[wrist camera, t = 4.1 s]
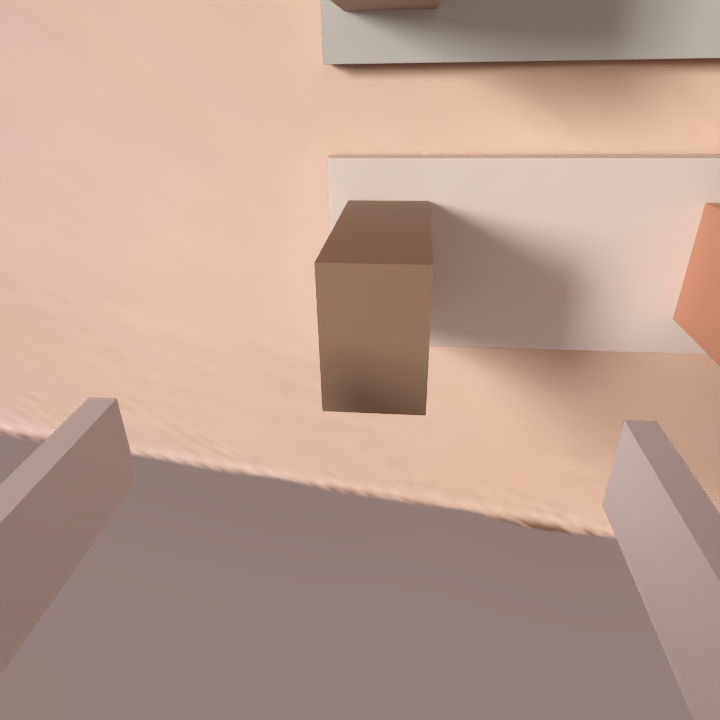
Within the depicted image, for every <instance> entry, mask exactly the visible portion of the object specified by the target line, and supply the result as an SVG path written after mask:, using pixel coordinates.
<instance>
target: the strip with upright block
mask: <svg viewBox="0 0 720 720" xmlns="http://www.w3.org/2000/svg"><path fill="white" fill-rule="evenodd" d="M321 25H322V50H323V64H384V63H446V62H509V61H571V60H633V59H696V58H720V0H321Z"/></svg>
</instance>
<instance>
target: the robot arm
mask: <svg viewBox="0 0 720 720" xmlns="http://www.w3.org/2000/svg"><path fill="white" fill-rule="evenodd" d="M136 480H137V475H136V471H135V467H134V463H133V459H132V456H131V452H130V448H129V444H128V440H127V437H126V433H125V429H124V425H123V421H122V417H121V414H120V410H119V406H118V402H117V399H115V398H91V397H89V398H88V399H87V400H86V401H85V402H84V403H83V404H82V405H81V406H80V407H79V408H78V409H77V410H76V411H75V412H74V413H73V414H72V415H71V416H70V417H69V418H68V419H67V420H66V421H65V422H64V423H63V424H62V425H61V426H60V427H59V428H58V429H57V430H56V431H55V432H54V433H53V434H52V435H51V436H50V437H49V438H48V439H47V440H46V441H45V442H44V443H42V445H40V446H39V448H37V449H36V450H35V451H34V453H32V454H31V455H30V456H29V457H28V458H27V459H26V460H25V461H24V462H23V463H22V464H21V465H20V466H19V467H18V468H17V469H16V470H15V471H14V472H13V473H12V474H11V475H10V476H9V477H8V478H7V479H6V480H5V481H4V482H3V483H2V484H1V485H0V675H1V674H2V672H3V671H4V669H5V668H6V667H7V665H8V664H9V662H10V661H11V659H12V658H13V657H14V655H15V654H16V652H17V651H18V649H19V648H20V647H21V645H22V644H23V642H24V641H25V639H26V638H27V637H28V635H29V634H30V632H31V631H32V629H33V628H34V627H35V625H36V624H37V622H38V621H39V619H40V618H41V616H42V615H43V614H44V612H45V611H46V609H47V608H48V606H49V605H50V603H51V602H52V600H53V599H54V598H55V596H56V595H57V594H58V592H59V590H60V589H61V588H62V586H63V585H64V583H65V582H66V581H67V579H68V578H69V576H70V575H71V573H72V572H73V570H74V569H75V568H76V566H77V565H78V563H79V562H80V561H81V559H82V558H83V556H84V555H85V553H86V552H87V551H88V549H89V548H90V546H91V545H92V543H93V542H94V541H95V539H96V537H97V536H98V535H99V533H100V532H101V530H102V529H103V528H104V526H105V525H106V523H107V522H108V520H109V519H110V517H111V516H112V515H113V513H114V512H115V510H116V509H117V508H118V506H119V505H120V503H121V502H122V500H123V499H124V497H125V496H126V495H127V493H128V492H129V490H130V489H131V487H132V486H133V485H134V483H135V482H136ZM603 507H604V510H605V512H606V515H607V517H608V519H609V522H610V524H611V526H612V529H613V531H614V533H615V536H616V538H617V541H618V543H619V545H620V548H621V550H622V552H623V555H624V557H625V559H626V562H627V564H628V566H629V569H630V571H631V574H632V576H633V578H634V581H635V583H636V585H637V588H638V590H639V593H640V595H641V597H642V600H643V602H644V604H645V607H646V609H647V611H648V614H649V616H650V619H651V621H652V623H653V626H654V628H655V630H656V633H657V635H658V637H659V640H660V642H661V645H662V647H663V649H664V652H665V654H666V656H667V659H668V661H669V663H670V666H671V668H672V671H673V673H674V675H675V678H676V680H677V682H678V685H679V687H680V689H681V692H682V694H683V697H684V699H685V701H686V704H687V706H688V708H689V711H690V713H691V715H692V718H693V720H720V513H719V512H718V511H717V509H716V508H715V506H714V505H713V503H712V502H711V500H710V499H709V497H708V496H707V494H706V493H705V491H704V490H703V489H702V487H701V486H700V484H699V483H698V481H697V480H696V478H695V477H694V475H693V474H692V472H691V471H690V469H689V468H688V467H687V465H686V464H685V462H684V461H683V459H682V458H681V456H680V455H679V453H678V452H677V450H676V449H675V447H674V446H673V444H672V443H671V442H670V440H669V439H668V437H667V436H666V434H665V433H664V431H663V430H662V428H661V427H660V425H659V424H658V422H657V421H638V420H624V423H623V427H622V431H621V434H620V438H619V442H618V446H617V450H616V454H615V458H614V462H613V466H612V470H611V473H610V477H609V481H608V485H607V489H606V493H605V497H604V501H603Z"/></svg>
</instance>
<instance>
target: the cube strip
mask: <svg viewBox="0 0 720 720" xmlns="http://www.w3.org/2000/svg"><path fill="white" fill-rule="evenodd" d="M327 176H328V201H329V226H330V235H329V237H328V239H327V241H326V243H325V244H324V246H323V248H322V250H321V252H320V254H319V256H318V257H317V259H316V261H315V279H316V298H317V316H318V334H319V353H320V371H321V389H322V408H323V411H335V412H359V413H382V414H406V415H426V397H427V378H428V359H429V346H453V347H486V348H518V349H551V350H584V351H616V352H649V353H681V354H708V353H707V352H705V351H704V350H703V349H702V348H701V347H700V346H699V345H698V344H697V343H696V342H695V341H694V340H693V339H692V338H691V337H690V336H689V335H688V334H687V333H686V332H685V331H684V330H683V329H682V328H681V327H680V326H679V325H678V324H677V323H676V322H675V321H674V320H673V316H674V312H675V309H676V305H677V302H678V298H679V295H680V291H681V288H682V284H683V281H684V277H685V273H686V270H687V266H688V263H689V259H690V256H691V252H692V249H693V245H694V242H695V238H696V234H697V231H698V227H699V224H700V220H701V217H702V213H703V210H704V206H705V203H720V154H532V155H329V156H328V157H327Z"/></svg>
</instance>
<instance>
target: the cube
mask: <svg viewBox="0 0 720 720" xmlns="http://www.w3.org/2000/svg"><path fill="white" fill-rule="evenodd" d="M673 320H674V321H675V322H676V323H677V324H678V325H679V326H680V327H681V328H682V329H683V330H684V331H685V332H686V333H687V334H688V335H689V336H690V337H691V338H692V339H693V340H694V341H695V342H696V343H697V344H698V345H699V346H700V347H701V348H702V349H703V350H704V351H705V352H707V353H708V354H709V355H710V356H711V357H712V358H713V359H714V360H715V361H716V362H717V363H718V364H719V365H720V203H705V206H704V210H703V213H702V217H701V220H700V224H699V227H698V231H697V234H696V238H695V242H694V245H693V249H692V252H691V256H690V259H689V263H688V266H687V270H686V273H685V277H684V281H683V284H682V288H681V291H680V295H679V298H678V302H677V305H676V309H675V312H674V316H673Z"/></svg>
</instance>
